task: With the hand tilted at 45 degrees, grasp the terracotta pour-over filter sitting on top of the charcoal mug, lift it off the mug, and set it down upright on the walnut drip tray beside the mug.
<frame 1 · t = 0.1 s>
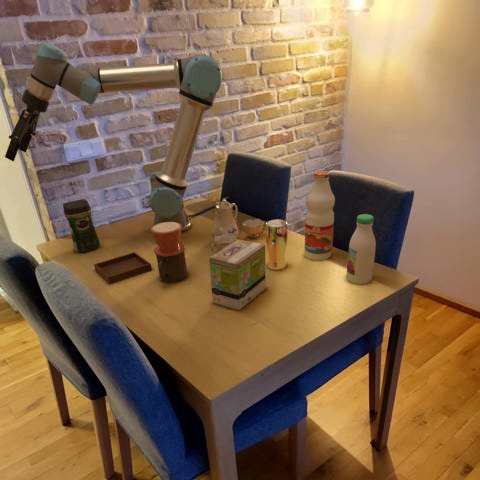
hand: (15, 154, 147), 36 cm above the table, tool tilted 35°, fingers open, 13 cm apart
milk bottle: (358, 279, 135), on the table
fruit juice: (318, 255, 151), on the table
filter: (170, 254, 139), point 8 cm above the table, touching mug
tea box: (240, 296, 130), on the table
beer glass: (277, 266, 146), on the table
chinaware: (233, 242, 165), on the table
mug: (173, 276, 143), on the table
tray: (123, 270, 150), on the table
coffee jar: (87, 248, 168), on the table
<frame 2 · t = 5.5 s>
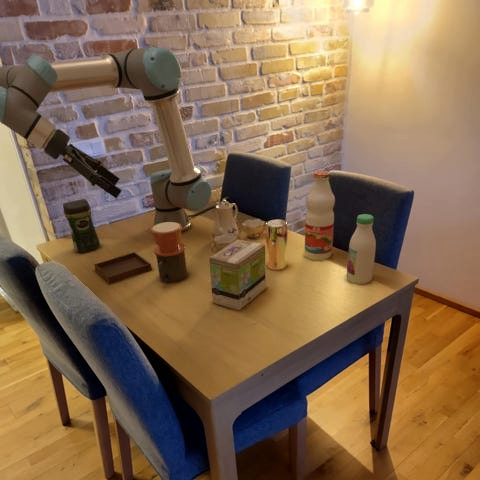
hand: (118, 188, 128), 30 cm above the table, tool tilted 45°, fingers open, 13 cm apart
nothing on the table moved.
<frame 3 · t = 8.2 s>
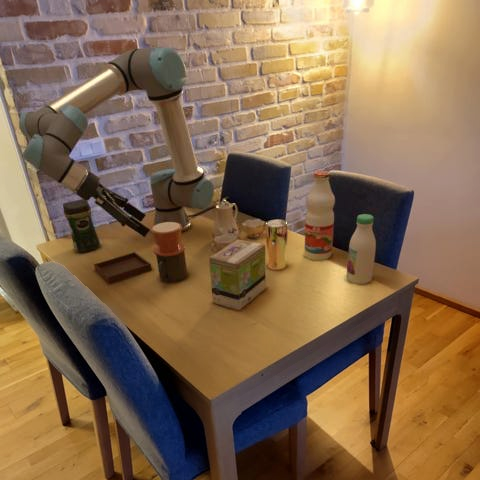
hand: (145, 225, 132), 19 cm above the table, tool tilted 45°, fingers open, 13 cm apart
nothing on the table moved.
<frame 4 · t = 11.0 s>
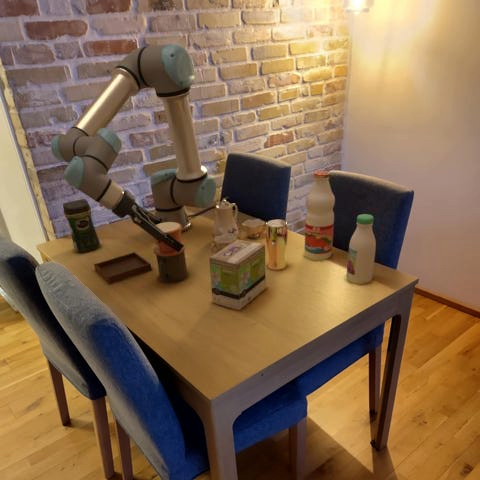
hand: (178, 242, 138), 11 cm above the table, tool tilted 45°, fingers closed on filter, 10 cm apart
filter: (170, 254, 139), point 8 cm above the table, touching gripper, mug
everything else where it was.
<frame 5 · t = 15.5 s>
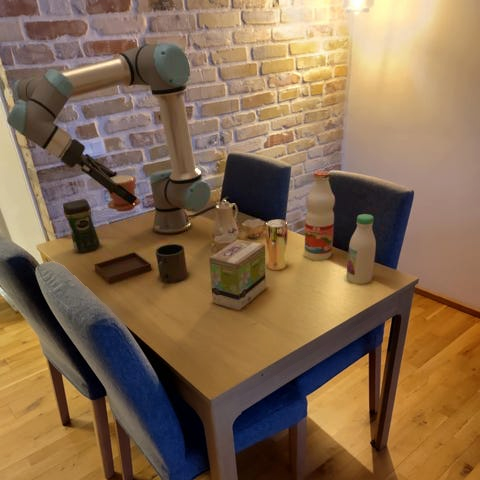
hand: (133, 196, 135), 25 cm above the table, tool tilted 45°, fingers closed on filter, 10 cm apart
filter: (125, 208, 136), point 22 cm above the table, touching gripper
everything else where it was.
when the fingers open (4 cm above the table, at t = 20.1 s): filter stays where it is, resting on tray.
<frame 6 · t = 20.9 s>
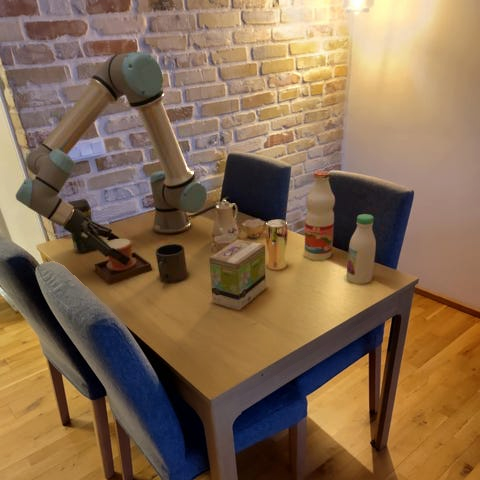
hand: (126, 253, 147), 6 cm above the table, tool tilted 45°, fingers open, 13 cm apart
filter: (122, 268, 149), point 1 cm above the table, touching tray
everything else where it was.
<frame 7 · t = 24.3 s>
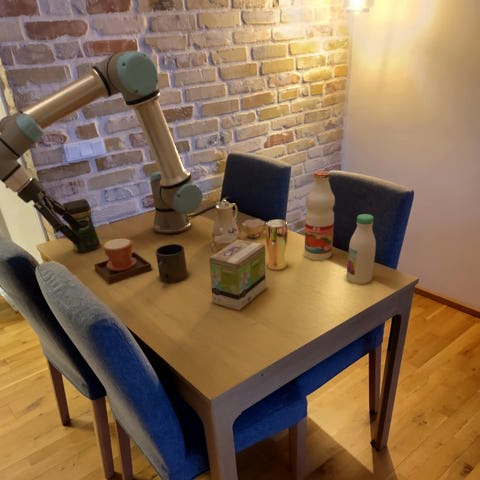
hand: (79, 235, 143), 13 cm above the table, tool tilted 35°, fingers open, 13 cm apart
nothing on the table moved.
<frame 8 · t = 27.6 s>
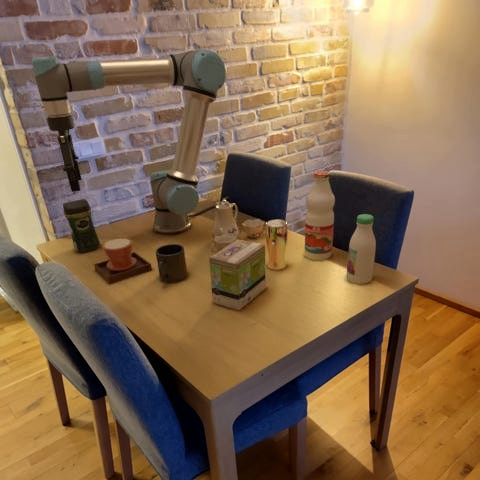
hand: (77, 185, 144), 27 cm above the table, tool pointing down, fingers open, 13 cm apart
nothing on the table moved.
at the end: filter inside the target area in the tray (0.1 cm from its centre), point 0.8 cm above the tray's base; filter tilted 0°; the gripper is holding nothing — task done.
